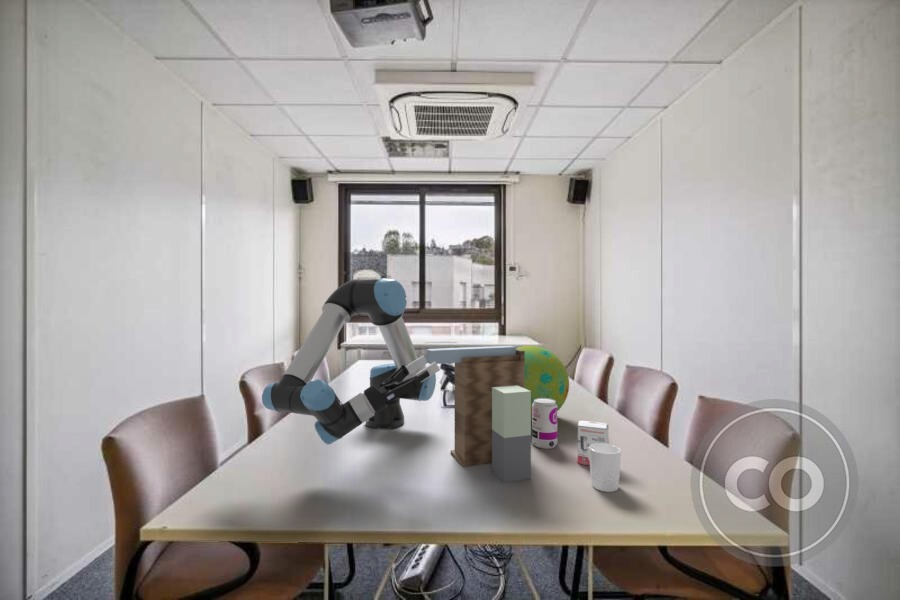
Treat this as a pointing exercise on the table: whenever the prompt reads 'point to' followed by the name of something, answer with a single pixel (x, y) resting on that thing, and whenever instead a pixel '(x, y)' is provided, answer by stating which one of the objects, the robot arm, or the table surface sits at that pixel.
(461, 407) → the stand
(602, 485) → the white cup
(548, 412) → the supplement can
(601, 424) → the ink box
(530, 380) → the globe
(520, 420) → the upper block
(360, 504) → the table surface
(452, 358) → the pale blue bar
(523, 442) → the lower block
